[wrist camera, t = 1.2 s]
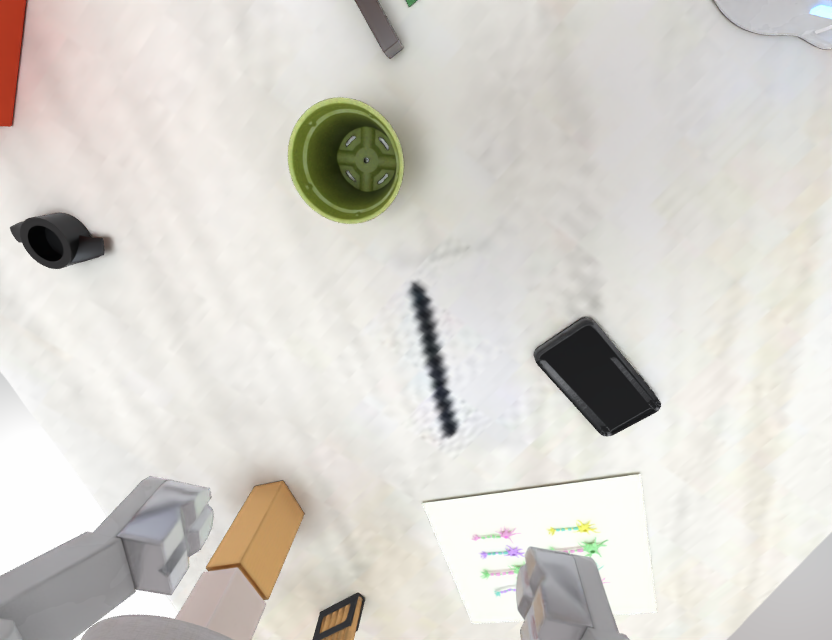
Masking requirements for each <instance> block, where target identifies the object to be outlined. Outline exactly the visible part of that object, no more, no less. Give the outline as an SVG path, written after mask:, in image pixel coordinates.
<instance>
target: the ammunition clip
mask: <svg viewBox="0 0 832 640" xmlns="http://www.w3.org/2000/svg"><path fill="white" fill-rule="evenodd" d="M364 601H365V598H364V597H362V596H361V595H359V594H358V593H356V594H354V595H353V596H351V597H349V598H347V599H345V600H343V601H341V602H339V603H337V604H335V605H333V606H331V607H329V608H327V609H326V610H324V611H322V612H320V615H319V619H318V622H317V626H316V629H315V633H314V637H313V640H354V637H355V632H356V631H358V627H359V623H360V619H361V614H362V610H363V606H364Z"/></svg>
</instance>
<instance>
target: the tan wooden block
mask: <svg viewBox="0 0 832 640" xmlns="http://www.w3.org/2000/svg"><path fill="white" fill-rule="evenodd" d="M303 516H304V512H303V511H302V509H301V508H300V506H299V504H298V503H297V501H296V500H295V498H294V497H293V495H292V493H291V492H290V490H289V489H288V487H287V486H286V484H285V483H284V481H278V482H273V483H268V484H263V485H258V486H254V488H253V490H252V491H251V493H250V495H249V496H248V498H247V500H246V501H245V503H244V505H243V506H242V508H241V510H240V511H239V513H238V515H237V516H236V518H235V520H234V521H233V523H232V525H231V526H230V528H229V530H228V531H227V533H226V535H225V536H224V538H223V540H222V541H221V543H220V545H219V546H218V548H217V550H216V551H215V553H214V555H213V556H212V558H211V560H210V561H209V563H208V565H207V566H206V569H207V570H208V572H203V573H202V575H201V576H200V578H199V580H198V581H197V583H196V585H195V586H194V588H193V590H192V591H191V593H190V595H189V596H188V598H187V600H186V601H185V603H184V605H183V606H182V608H181V610H180V611H179V613H178V615H177V616H176V618H175V619H172V618H166V617H160V616H151V615H124V616H117V617H112V618H108V619H105V620H102V621H100V622H98V623H96V624H95V625H93V626H92V627H90V628H89V629H88V630H87V631H86V633H85V634H84V635H83V637H82V639H81V640H252V637H253V635H254V633H255V630H256V628H257V625H258V623H259V621H260V618H261V616H262V614H263V611H264V609H265V606H266V603H265V602H264V600H268V599H269V597H270V595H271V592H272V590H273V587H274V585H275V583H276V580H277V578H278V576H279V573H280V571H281V569H282V566H283V564H284V561H285V559H286V557H287V554H288V552H289V550H290V547H291V545H292V542H293V540H294V538H295V535H296V533H297V531H298V528H299V526H300V524H301V521H302V519H303Z"/></svg>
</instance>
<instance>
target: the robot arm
mask: <svg viewBox="0 0 832 640" xmlns="http://www.w3.org/2000/svg"><path fill="white" fill-rule="evenodd" d="M714 1H715V3H716V4H717V6H718V7H719V9H720V10H721V11H722V13H723V14H724V15H725V16H726V17H727V18H728V19H729V20H731V21H732V22H733V23H734V24H736V25H738V26H739V27H741V28H743V29H745V30H748V31H750V32H754V33H758V34H763V35H792V36H798V37H801V38H802V39H804V40H805V41H807V42H809V43H811V44H812V45H814V46H816V47H819V48H822V49H832V0H714ZM210 499H211V492H210V488H207V487H202V486H197V485H192V484H188V483H183V482H178V481H173V480H169V479H164V478H158V477H153V476H149V477H147V478H146V479H144V480H142V481H141V482H140V483H139V484H138V485H137V487H136V488H135V489H134V490H133V491H132V492H131V493H130V494H129V495H128V496H127V497H126V498H125V499H124V500H123V501H122V502H121V503H120V505H119V506H118V507H117V508H116V509H115V510H114V511H113V512H112V513H111V514H110V515H109V516H108V517H107V518H106V519H105V520H104V521H103V522H102V524H101V525H100V526H99V527H98V528H97V529H96V530H95V531H94V532H93V533H91V532H85V533H84V534H81V535H80V536H78V537H76V538H74V539H72V540H70V541H68V542H66V543H64V544H62V545H60V546H58V547H56V548H54V549H52V550H50V551H48V552H46V553H44V554H43V555H40V556H39V557H37V558H35V559H33V560H31V561H29V562H27V563H25V564H23V565H21V566H19V567H17V568H15V569H13V570H11V571H10V572H7V573H5V574H4V575H1V576H0V640H73V639H74V638H75V637H77V636H78V635H79V634H81V633H82V632H83V631H85V630H86V629H87V628H89V627H90V626H91V625H92V624H94V623H95V622H97V621H98V620H99V619H100V618H102V617H103V616H104V615H106V614H107V613H108V612H110V611H111V610H112V609H114V608H115V607H116V606H118V605H119V604H120V603H121V602H123V601H124V600H126V599H127V598H128V597H130V596H131V595H132V594H133V593H135V589H136V590H143V591H148V592H154V593H160V594H167V595H172V593H173V592H174V590H175V589H176V587H177V586H178V584H179V582H180V581H181V579H182V578H183V576H184V575H185V573H186V572H187V570H188V568H189V557H190V556H191V555H193V554H194V553H196V552H198V551H199V550H201V548H202V546H203V545H204V543H205V541H206V540H207V538H208V536H209V533H210V531H211V528H212V525H213V518H214V514H213V509H212V508H211V507H210V506H209V505H208V504H207V503H208V502H209V500H210ZM525 561H526V564H525V565H523V566H521V567H520V569H519V572H518V575H517V583H516V601H517V610H518V611H519V613H520V614H521V616H522V617H523V619H524V623H523V625H522V627H521V630H520V635H521V640H630V639H629V638H628V637H627V636H626V635H625V634H621V633H619V632H618V629H617V626H616V623H615V619H614V616H613V613H612V610H611V607H610V604H609V601H608V598H607V595H606V592H605V589H604V586H603V583H602V580H601V577H600V574H599V571H598V568H597V565H596V562H595V561H594V560H593V558H591V557H587V556H581V555H575V554H570V553H567V552H561V551H555V550H549V549H543V548H537V547H531V546H530V547H529V548H528V549H527V551H526V553H525Z"/></svg>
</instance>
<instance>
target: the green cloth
mask: <svg viewBox="0 0 832 640" xmlns="http://www.w3.org/2000/svg"><path fill="white" fill-rule="evenodd" d="M416 1H417V0H406V2H407V4H408V6H409V7H410V6H411V5H412V4H414V3H415V2H416Z"/></svg>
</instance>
